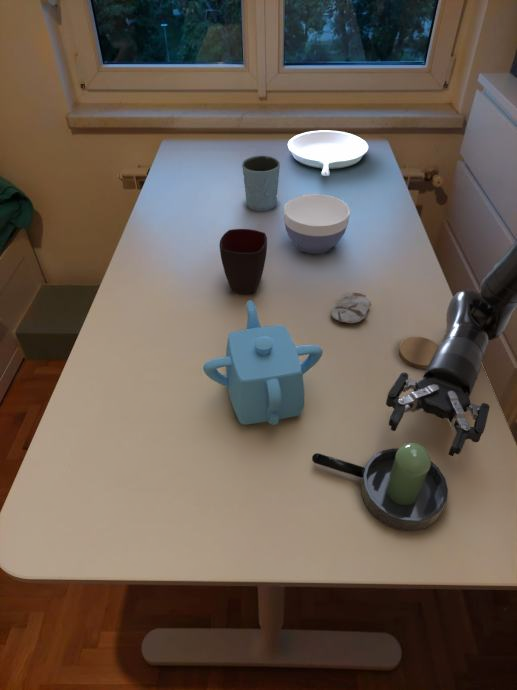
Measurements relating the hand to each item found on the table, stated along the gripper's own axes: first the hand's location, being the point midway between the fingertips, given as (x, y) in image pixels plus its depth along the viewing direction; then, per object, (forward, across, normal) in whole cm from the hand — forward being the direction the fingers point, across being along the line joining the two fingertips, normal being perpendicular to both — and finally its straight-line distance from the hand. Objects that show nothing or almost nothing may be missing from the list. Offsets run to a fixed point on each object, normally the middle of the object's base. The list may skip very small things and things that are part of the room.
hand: (422, 439), depth 72 cm
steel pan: (+4, 0, +9) cm, 10 cm away
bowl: (-53, -43, +9) cm, 68 cm away
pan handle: (+6, -10, +8) cm, 13 cm away
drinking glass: (-64, -65, +9) cm, 92 cm away
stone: (-32, -24, +9) cm, 41 cm away
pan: (-98, -61, +9) cm, 116 cm away
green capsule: (+4, 0, +8) cm, 9 cm away
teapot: (-3, -29, +9) cm, 30 cm away
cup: (-30, -49, +9) cm, 58 cm away
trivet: (-27, -7, +9) cm, 29 cm away
